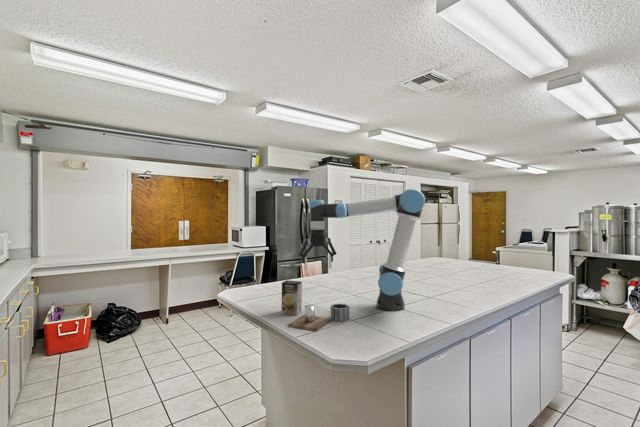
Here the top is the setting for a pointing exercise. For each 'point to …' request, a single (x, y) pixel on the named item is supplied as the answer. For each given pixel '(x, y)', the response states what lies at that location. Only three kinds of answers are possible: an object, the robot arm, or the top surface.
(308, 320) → the post
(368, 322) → the top surface
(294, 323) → the base
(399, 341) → the top surface
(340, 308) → the grey ribbed cylinder
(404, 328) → the top surface
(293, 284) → the coffee box
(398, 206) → the robot arm
